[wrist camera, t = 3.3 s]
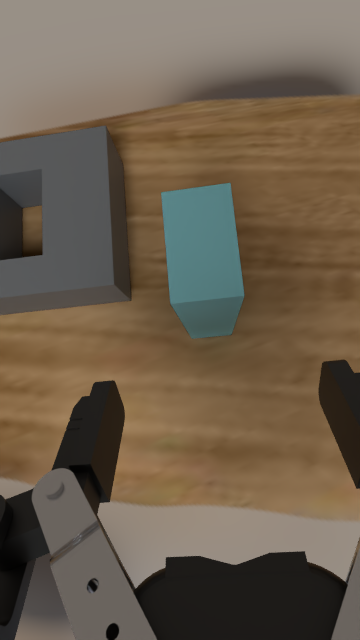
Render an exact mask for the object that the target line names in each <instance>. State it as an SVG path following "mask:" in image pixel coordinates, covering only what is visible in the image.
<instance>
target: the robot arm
mask: <svg viewBox="0 0 360 640" xmlns="http://www.w3.org/2000/svg"><path fill="white" fill-rule="evenodd" d="M319 400H320V404H321V407H322V409H323V411H324V414H325V416H326V418H327V421H328V423H329V425H330V428H331V430H332V432H333V435H334V437H335V439H336V442H337V444H338V446H339V449H340V451H341V453H342V456H343V458H344V460H345V463H346V465H347V467H348V470H349V472H350V474H351V477H352V479H353V481H354V484H355V486H356V488H357V489H359V488H360V373H354V372H353V371H352V369H351V367H350V366H349V364H348V362H347V361H346V360H336V361H326V362H323V363H322V368H321V376H320V383H319ZM124 420H125V412H124V406H123V403H122V400H121V397H120V394H119V391H118V389H117V386H116V383H115V381H103V382H95V383H94V384H93V387H92V390H91V393H90V396H84V397H82V398H81V399H80V400H79V402H78V403H77V404H76V405H75V406H74V408H73V411H72V414H71V417H70V421H69V422H68V425H67V428H66V431H65V434H64V437H63V439H62V442H61V445H60V448H59V451H58V454H57V457H56V460H55V462H54V465H53V468H52V470H51V471H50V472H48V473H47V474H45V475H44V476H43V477H42V478H41V479H40V480H39V481H38V482H37V484H36V485H35V487H34V488H33V489H31V490H29V491H27V492H24V493H21V494H19V495H16V496H14V497H11V498H8V499H6V500H5V499H4V498H3V497H2V496H1V495H0V640H14V639H15V635H16V632H17V628H18V624H19V620H20V617H21V613H22V610H23V606H24V602H25V598H26V595H27V591H28V587H29V583H30V580H31V576H32V572H33V568H34V565H35V561H36V558H38V557H41V556H43V555H45V554H47V553H51V559H50V566H51V569H52V573H53V575H54V578H55V581H56V584H57V587H58V590H59V593H60V596H61V599H62V602H63V605H64V607H65V610H66V613H67V616H68V619H69V622H70V625H71V627H72V631H73V633H74V636H75V639H76V640H360V538H359V541H358V544H357V548H356V550H355V554H354V557H353V560H352V562H351V565H350V568H349V572H348V575H347V578H346V581H343V580H342V579H341V578H340V577H338V576H337V575H335V574H334V573H332V572H331V571H328V570H327V569H325V568H323V567H321V566H318V565H316V564H313V563H309V562H307V559H306V555H305V552H280V553H268V554H265V555H263V556H260V557H257V558H255V559H252V560H249V561H246V562H243V563H241V564H238V565H231V564H228V563H224V562H220V561H216V560H212V559H209V558H205V557H201V556H188V557H167V558H166V568H164V569H161V570H159V571H157V572H155V573H153V574H152V575H151V576H149V577H148V578H146V579H145V580H144V581H143V582H142V583H141V584H140V585H139V586H138V587H137V588H135V587H134V585H133V583H132V581H131V579H130V577H129V575H128V573H127V572H126V570H125V568H124V566H123V564H122V562H121V560H120V558H119V556H118V554H117V553H116V551H115V549H114V547H113V545H112V543H111V541H110V539H109V537H108V535H107V533H106V531H105V529H104V527H103V525H102V523H101V521H100V519H99V518H98V516H97V513H98V508H99V504H100V503H104V502H110V497H111V492H112V486H113V481H114V475H115V470H116V464H117V459H118V453H119V448H120V443H121V437H122V432H123V426H124Z"/></svg>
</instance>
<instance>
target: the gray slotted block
mask: <svg viewBox="0 0 360 640" xmlns="http://www.w3.org/2000/svg"><path fill="white" fill-rule="evenodd" d="M39 205H42V233H43V255H39V256H31V257H23V258H22V208H25V207H32V206H39ZM122 301H131V289H130V272H129V256H128V239H127V222H126V206H125V189H124V173H123V163H122V161H121V159H120V157H119V154H118V152H117V150H116V147H115V145H114V143H113V141H112V138H111V136H110V134H109V131H108V129H107V127H106V126H101V127H94V128H88V129H82V130H76V131H69V132H63V133H57V134H51V135H45V136H38V137H32V138H26V139H20V140H14V141H7V142H1V143H0V315H5V314H14V313H23V312H32V311H41V310H50V309H59V308H68V307H77V306H86V305H95V304H104V303H113V302H122Z"/></svg>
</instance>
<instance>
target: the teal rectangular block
mask: <svg viewBox="0 0 360 640" xmlns="http://www.w3.org/2000/svg"><path fill="white" fill-rule="evenodd" d="M161 196H162V208H163V220H164V232H165V244H166V257H167V269H168V281H169V293H170V304H171V306H172V307H173V309H174V311H175V312H176V314H177V315H178V317H179V319H180V320H181V322H182V324H183V325H184V327H185V328H186V330H187V332H188V333H189V335H190V337H191V338H192V339H195V338H205V337H215V336H225V335H232V332H233V329H234V326H235V323H236V320H237V317H238V314H239V311H240V308H241V305H242V302H243V299H244V288H243V280H242V272H241V264H240V256H239V248H238V240H237V232H236V224H235V216H234V208H233V200H232V192H231V184H230V183H225V184H218V185H211V186H204V187H197V188H190V189H182V190H175V191H168V192H161Z"/></svg>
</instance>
